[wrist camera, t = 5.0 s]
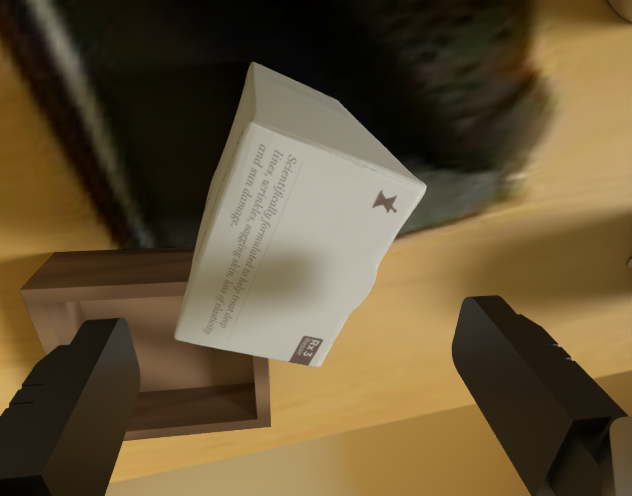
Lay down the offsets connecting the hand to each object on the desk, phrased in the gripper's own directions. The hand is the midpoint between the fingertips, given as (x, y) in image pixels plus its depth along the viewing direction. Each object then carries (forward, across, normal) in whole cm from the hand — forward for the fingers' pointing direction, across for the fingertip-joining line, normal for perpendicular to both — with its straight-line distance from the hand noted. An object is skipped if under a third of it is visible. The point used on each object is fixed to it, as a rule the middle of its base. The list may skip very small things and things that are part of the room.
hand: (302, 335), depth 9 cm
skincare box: (+18, 0, 0) cm, 18 cm away
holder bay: (+18, +8, +14) cm, 24 cm away
